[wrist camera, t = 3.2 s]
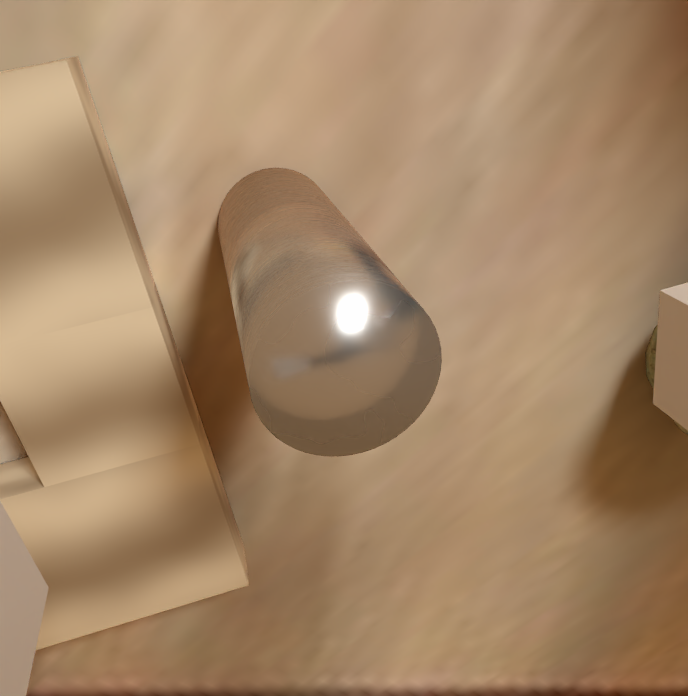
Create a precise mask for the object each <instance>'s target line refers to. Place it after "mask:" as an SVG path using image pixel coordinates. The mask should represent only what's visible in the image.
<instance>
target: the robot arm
mask: <svg viewBox="0 0 688 696" xmlns="http://www.w3.org/2000/svg"><path fill="white" fill-rule="evenodd" d="M653 404H654V405H655V406H657V407H658V408H659V409H661V410H662V411H663V412H664V413H666V414H667V415H668V416H670V417H671V418H672V419H673V420H675V421H676V422H677V423H679V424H680V425H681V426H682V427H684V428H685V429H686V430H688V283H684V284H681V285H677V286H673V287H670V288H666V289H663V290H660V297H659V313H658V329H657V345H656V360H655V376H654V392H653ZM48 588H49V587H48V586H47V584H46V582H45V580H44V578H43V577H42V575H41V573H40V571H39V569H38V568H37V566H36V564H35V562H34V560H33V559H32V557H31V555H30V553H29V551H28V550H27V548H26V546H25V544H24V542H23V541H22V539H21V537H20V535H19V534H18V532H17V530H16V528H15V526H14V525H13V523H12V521H11V519H10V517H9V516H8V514H7V512H6V510H5V508H4V507H3V505H2V503H1V501H0V696H26V693H27V689H28V684H29V679H30V674H31V670H32V665H33V660H34V655H35V650H36V646H37V641H38V636H39V631H40V627H41V622H42V617H43V612H44V607H45V603H46V598H47V593H48Z"/></svg>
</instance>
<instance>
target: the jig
mask: <svg viewBox="0 0 688 696" xmlns="http://www.w3.org/2000/svg"><path fill="white" fill-rule="evenodd" d="M0 401H1V403H2V405H3V407H4V409H5V411H6V413H7V415H8V417H9V419H10V421H11V423H12V425H13V427H14V429H15V431H16V433H17V435H18V437H19V439H20V440H21V442H22V444H23V446H24V448H25V450H26V452H27V454H28V456H29V457H26V458H22V459H18V460H15V461H11V462H7V463H4V464H0V501H1V503H2V505H3V507H4V508H5V510H6V512H7V514H8V516H9V517H10V519H11V521H12V523H13V525H14V526H15V528H16V530H17V532H18V534H19V535H20V537H21V539H22V541H23V542H24V544H25V546H26V548H27V550H28V551H29V553H30V555H31V557H32V559H33V560H34V562H35V564H36V566H37V568H38V569H39V571H40V573H41V575H42V577H43V578H44V580H45V582H46V584H47V586H48V587H49V588H48V593H47V598H46V603H45V607H44V612H43V617H42V622H41V627H40V631H39V636H38V641H37V646H36V650H39V649H42V648H45V647H49V646H52V645H55V644H58V643H62V642H65V641H68V640H71V639H75V638H78V637H81V636H85V635H88V634H91V633H94V632H98V631H101V630H104V629H107V628H111V627H114V626H117V625H121V624H124V623H127V622H130V621H134V620H137V619H140V618H143V617H147V616H150V615H153V614H157V613H160V612H163V611H166V610H170V609H173V608H176V607H179V606H183V605H186V604H189V603H193V602H196V601H199V600H202V599H206V598H209V597H212V596H215V595H219V594H222V593H225V592H229V591H232V590H235V589H238V588H242V587H245V586H248V585H249V581H248V574H247V566H246V558H245V550H244V545H243V542H242V539H241V536H240V533H239V530H238V527H237V524H236V521H235V518H234V515H233V512H232V509H231V507H230V504H229V501H228V498H227V495H226V492H225V489H224V486H223V483H222V480H221V477H220V474H219V471H218V468H217V465H216V462H215V459H214V456H213V453H212V450H211V448H210V445H209V442H208V439H207V436H206V433H205V430H204V427H203V424H202V421H201V418H200V415H199V412H198V409H197V406H196V403H195V400H194V397H193V394H192V391H191V389H190V386H189V383H188V380H187V377H186V374H185V371H184V368H183V365H182V362H181V359H180V356H179V353H178V350H177V347H176V344H175V341H174V338H173V335H172V332H171V330H170V327H169V324H168V321H167V318H166V315H165V312H164V309H163V306H162V303H161V300H160V297H159V294H158V291H157V288H156V285H155V282H154V279H153V276H152V273H151V271H150V268H149V265H148V262H147V259H146V256H145V253H144V250H143V247H142V244H141V241H140V238H139V235H138V232H137V229H136V226H135V223H134V220H133V217H132V215H131V212H130V209H129V206H128V203H127V200H126V197H125V194H124V191H123V188H122V185H121V182H120V179H119V176H118V173H117V170H116V167H115V164H114V161H113V158H112V156H111V153H110V150H109V147H108V144H107V141H106V138H105V135H104V132H103V129H102V126H101V123H100V120H99V117H98V114H97V111H96V108H95V105H94V102H93V99H92V97H91V94H90V91H89V88H88V85H87V82H86V79H85V76H84V73H83V70H82V67H81V64H80V61H79V58H78V56H76V57H71V58H66V59H61V60H56V61H51V62H46V63H41V64H36V65H31V66H26V67H21V68H16V69H11V70H6V71H1V72H0Z"/></svg>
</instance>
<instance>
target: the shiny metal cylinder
mask: <svg viewBox="0 0 688 696" xmlns="http://www.w3.org/2000/svg"><path fill="white" fill-rule="evenodd" d="M218 234H219V239H220V244H221V249H222V254H223V259H224V264H225V269H226V274H227V279H228V284H229V289H230V294H231V299H232V305H233V310H234V315H235V320H236V325H237V330H238V335H239V340H240V345H241V350H242V355H243V360H244V365H245V370H246V375H247V380H248V386H249V391H250V395H251V400H252V403H253V406H254V408H255V411H256V413H257V415H258V416H259V418H260V420H261V421H262V423H263V424H264V425H265V427H266V428H267V429H268V430H269V431H270V432H271V433H272V434H273V435H274V436H275V437H276V438H278V439H279V440H281V441H282V442H284V443H285V444H287V445H289V446H291V447H293V448H295V449H297V450H300V451H303V452H305V453H310V454H314V455H321V456H346V455H353V454H357V453H362V452H365V451H368V450H371V449H374V448H376V447H378V446H381V445H383V444H385V443H387V442H388V441H390V440H392V439H393V438H395V437H397V436H398V435H399V434H401V433H402V432H403V431H405V430H406V429H407V428H408V427H409V426H410V425H411V424H412V423H413V422H414V421H415V420H416V419H417V418H418V417H419V416H420V414H421V413H422V412H423V411H424V409H425V408H426V406H427V405H428V403H429V401H430V399H431V397H432V396H433V394H434V391H435V389H436V386H437V383H438V380H439V375H440V371H441V361H442V359H441V346H440V341H439V337H438V334H437V331H436V328H435V326H434V325H433V323H432V321H431V319H430V317H429V316H428V315H427V313H426V312H425V311H424V309H423V308H422V307H421V306H420V305H419V304H418V302H417V301H416V300H415V299H414V298H413V297H412V295H411V294H410V293H409V292H408V291H407V290H406V288H405V287H404V286H403V285H402V284H401V283H400V281H399V280H398V279H397V278H396V277H395V275H394V274H393V273H392V272H391V271H390V270H389V268H388V267H387V266H386V265H385V264H384V263H383V261H382V260H381V259H380V258H379V257H378V256H377V254H376V253H375V252H374V251H373V250H372V249H371V247H370V246H369V245H368V244H367V243H366V242H365V240H364V239H363V238H362V237H361V236H360V235H359V233H358V232H357V231H356V230H355V229H354V228H353V226H352V225H351V224H350V223H349V222H348V220H347V219H346V218H345V217H344V216H343V215H342V213H341V212H340V211H339V210H338V209H337V208H336V206H335V205H334V204H333V203H332V202H331V201H330V199H329V198H328V197H327V196H326V195H325V194H324V192H323V191H322V190H321V189H320V188H319V187H318V186H317V185H316V184H315V183H314V182H313V181H312V180H311V179H309V178H308V177H306V176H305V175H303V174H301V173H299V172H296V171H294V170H289V169H284V168H268V169H262V170H259V171H256V172H253V173H251V174H249V175H247V176H246V177H244V178H242V179H241V180H240V181H239V182H237V183H236V184H235V185H234V186H233V187H232V188H231V190H230V191H229V192H228V194H227V195H226V197H225V199H224V201H223V203H222V205H221V208H220V212H219V217H218Z"/></svg>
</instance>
